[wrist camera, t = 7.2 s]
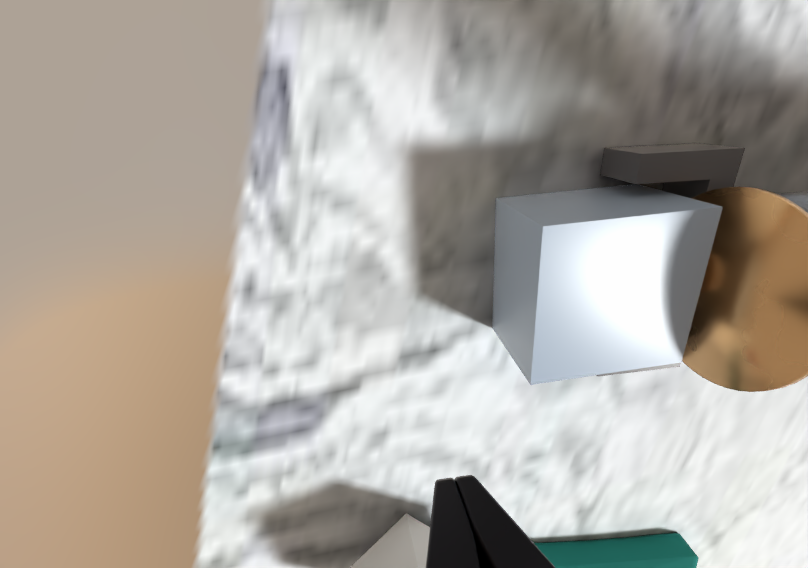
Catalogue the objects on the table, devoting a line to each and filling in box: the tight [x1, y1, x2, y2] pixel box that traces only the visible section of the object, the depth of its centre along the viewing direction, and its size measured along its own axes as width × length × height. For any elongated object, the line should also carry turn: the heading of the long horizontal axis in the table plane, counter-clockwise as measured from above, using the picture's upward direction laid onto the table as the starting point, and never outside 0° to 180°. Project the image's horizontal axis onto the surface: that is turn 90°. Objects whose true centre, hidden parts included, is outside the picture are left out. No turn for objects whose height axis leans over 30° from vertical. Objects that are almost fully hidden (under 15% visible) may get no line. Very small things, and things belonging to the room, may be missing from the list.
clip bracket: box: [597, 143, 745, 376], centre depth 20 cm, size 5×11×2 cm, turn 2°
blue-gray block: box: [493, 184, 723, 385], centre depth 18 cm, size 8×7×5 cm
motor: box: [682, 187, 808, 392], centre depth 17 cm, size 8×8×9 cm
